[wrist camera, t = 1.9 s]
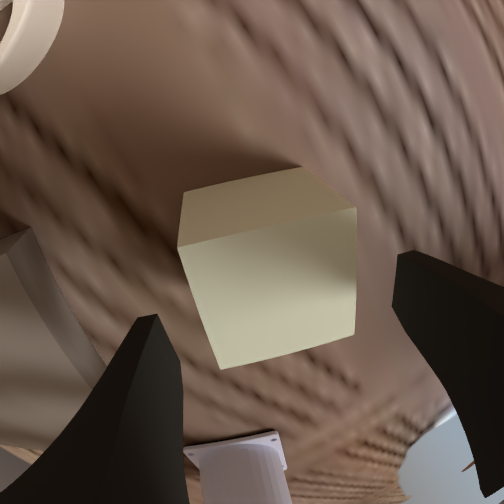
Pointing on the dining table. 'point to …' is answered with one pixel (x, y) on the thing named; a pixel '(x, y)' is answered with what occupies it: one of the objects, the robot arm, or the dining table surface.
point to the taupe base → (39, 349)
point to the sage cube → (270, 264)
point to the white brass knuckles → (27, 38)
